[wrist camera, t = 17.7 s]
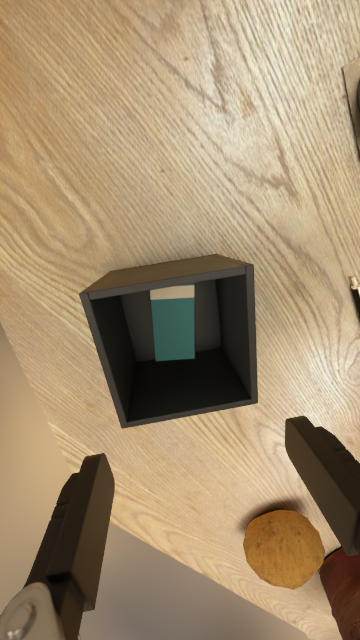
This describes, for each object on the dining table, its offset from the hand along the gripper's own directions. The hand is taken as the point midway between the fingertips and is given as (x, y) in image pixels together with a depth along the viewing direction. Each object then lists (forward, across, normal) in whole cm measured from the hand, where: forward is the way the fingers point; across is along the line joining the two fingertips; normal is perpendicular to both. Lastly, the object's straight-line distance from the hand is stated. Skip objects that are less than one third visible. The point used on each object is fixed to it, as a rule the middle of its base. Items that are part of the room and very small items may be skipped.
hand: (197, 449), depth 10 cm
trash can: (+19, 0, 0) cm, 19 cm away
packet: (+15, 0, +3) cm, 16 cm away
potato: (+19, -12, +44) cm, 49 cm away
